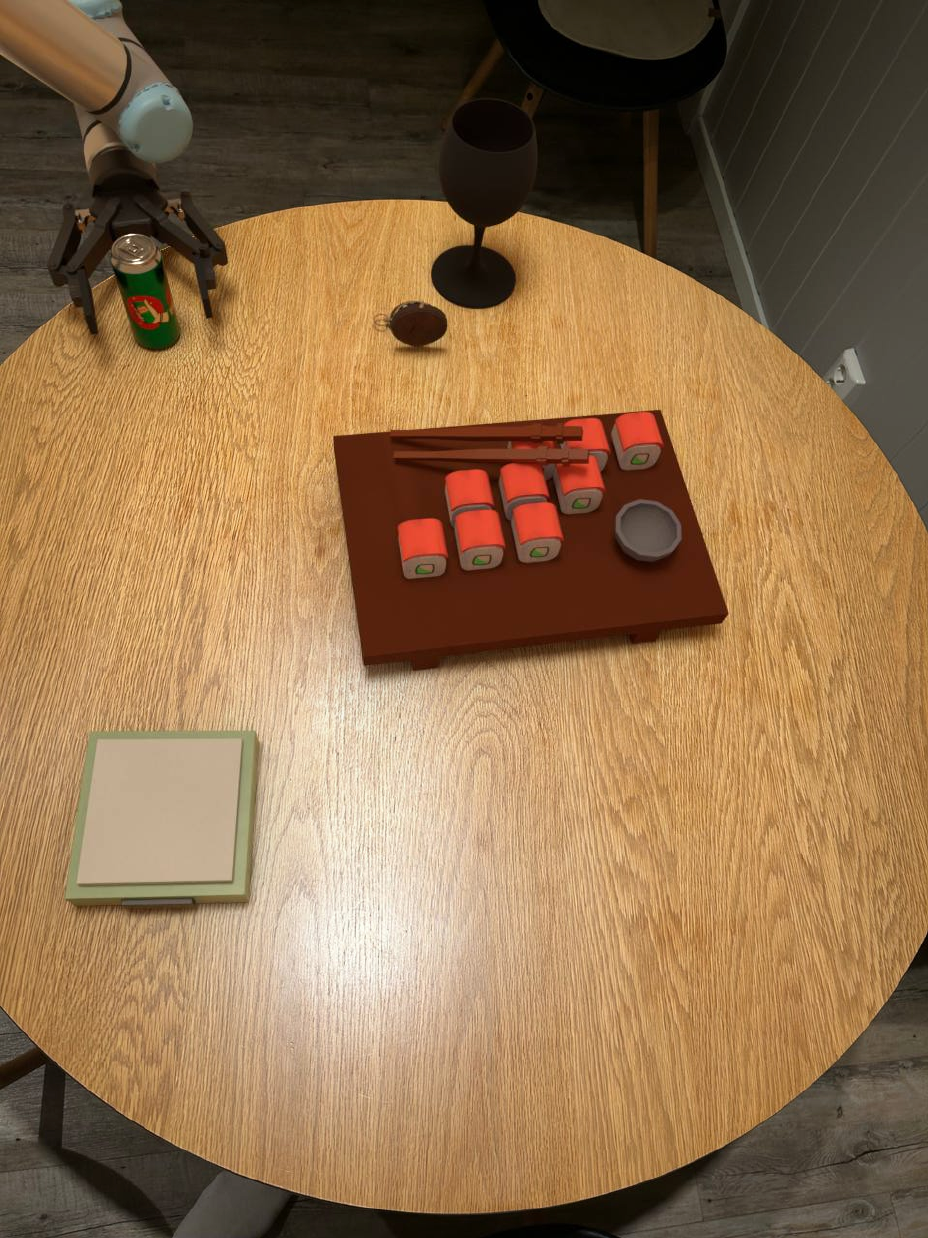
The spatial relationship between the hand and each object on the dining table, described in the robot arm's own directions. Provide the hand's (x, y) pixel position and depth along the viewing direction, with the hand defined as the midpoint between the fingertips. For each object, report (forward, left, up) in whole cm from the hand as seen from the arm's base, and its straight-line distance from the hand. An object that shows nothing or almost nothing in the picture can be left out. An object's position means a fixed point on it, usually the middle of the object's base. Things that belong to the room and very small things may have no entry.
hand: (150, 316), depth 97 cm
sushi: (+38, -23, -7) cm, 45 cm away
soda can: (-1, +4, -7) cm, 8 cm away
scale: (+6, -51, -7) cm, 52 cm away
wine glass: (+35, +15, -7) cm, 39 cm away
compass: (+27, +6, -7) cm, 29 cm away
